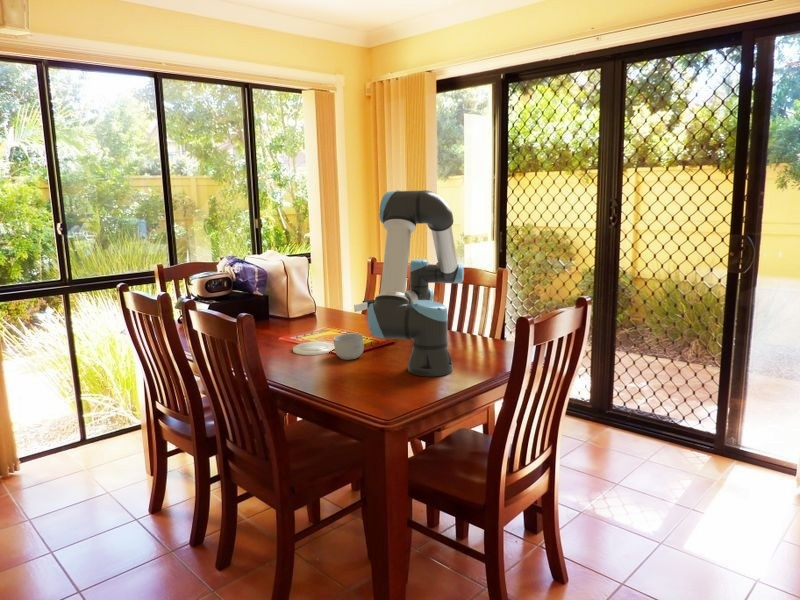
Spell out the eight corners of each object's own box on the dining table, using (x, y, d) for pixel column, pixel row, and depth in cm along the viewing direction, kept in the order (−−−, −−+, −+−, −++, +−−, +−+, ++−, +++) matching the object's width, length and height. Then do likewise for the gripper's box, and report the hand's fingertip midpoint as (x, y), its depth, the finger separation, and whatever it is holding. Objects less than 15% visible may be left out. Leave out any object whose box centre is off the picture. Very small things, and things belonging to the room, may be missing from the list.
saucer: (341, 351, 225) (341, 348, 225) (301, 357, 218) (301, 354, 218) (325, 342, 239) (325, 339, 239) (287, 347, 232) (287, 344, 231)
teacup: (359, 362, 211) (358, 340, 209) (330, 361, 213) (329, 339, 211) (369, 351, 224) (368, 331, 223) (341, 350, 226) (340, 330, 225)
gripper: (428, 314, 232) (392, 325, 216) (381, 306, 248) (345, 316, 232) (428, 295, 230) (392, 305, 215) (381, 288, 246) (344, 297, 231)
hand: (367, 310), depth 223 cm, fingers open, 13 cm apart
